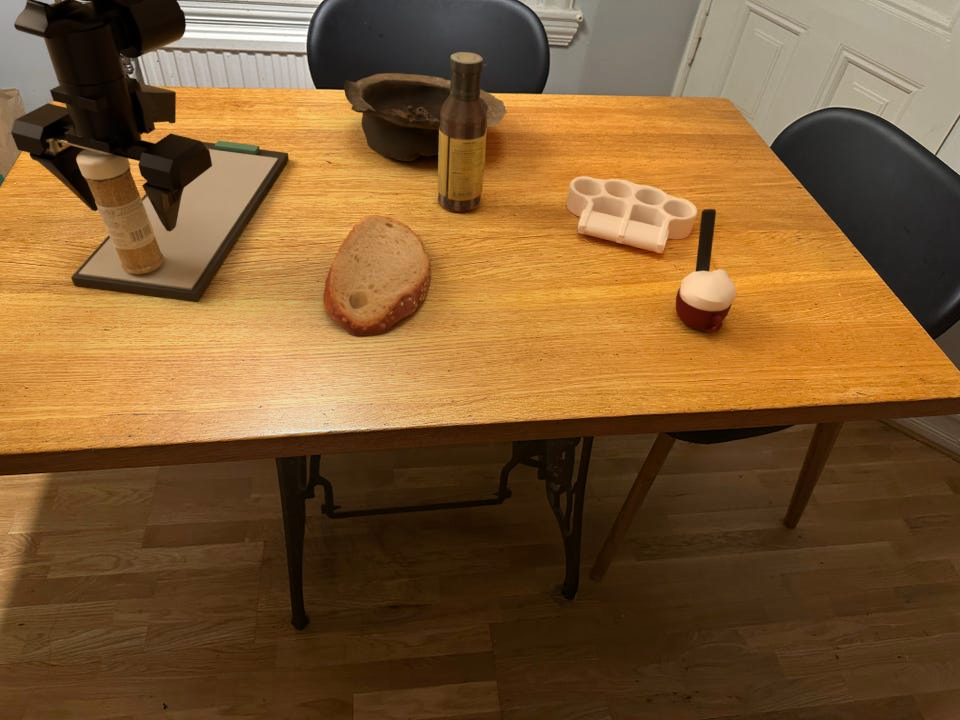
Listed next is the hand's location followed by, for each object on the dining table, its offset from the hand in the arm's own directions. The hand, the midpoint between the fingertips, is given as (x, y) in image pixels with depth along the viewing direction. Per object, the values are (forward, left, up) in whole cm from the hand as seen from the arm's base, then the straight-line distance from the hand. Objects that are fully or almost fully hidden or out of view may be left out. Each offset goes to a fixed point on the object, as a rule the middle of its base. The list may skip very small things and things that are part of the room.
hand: (133, 219), depth 75 cm
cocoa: (+61, -20, -8) cm, 64 cm away
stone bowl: (+40, +29, -8) cm, 50 cm away
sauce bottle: (+40, +10, -8) cm, 42 cm away
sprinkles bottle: (0, 0, -6) cm, 6 cm away
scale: (+5, +12, -8) cm, 15 cm away
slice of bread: (+25, -5, -8) cm, 26 cm away
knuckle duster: (+62, +1, -8) cm, 62 cm away
